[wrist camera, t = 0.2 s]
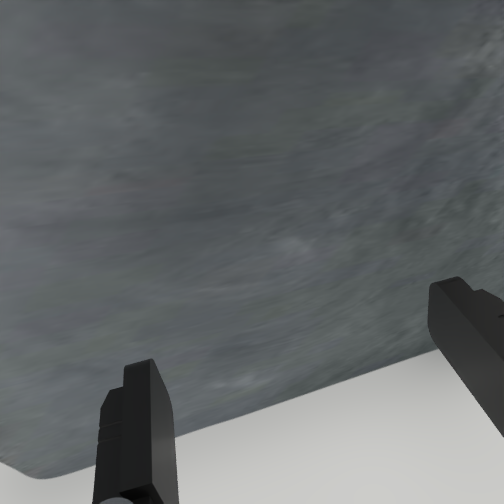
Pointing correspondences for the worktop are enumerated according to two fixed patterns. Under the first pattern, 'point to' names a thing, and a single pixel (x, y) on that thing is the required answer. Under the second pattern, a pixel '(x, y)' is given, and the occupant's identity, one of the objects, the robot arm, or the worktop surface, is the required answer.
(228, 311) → the worktop surface
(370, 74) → the worktop surface
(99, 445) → the robot arm
